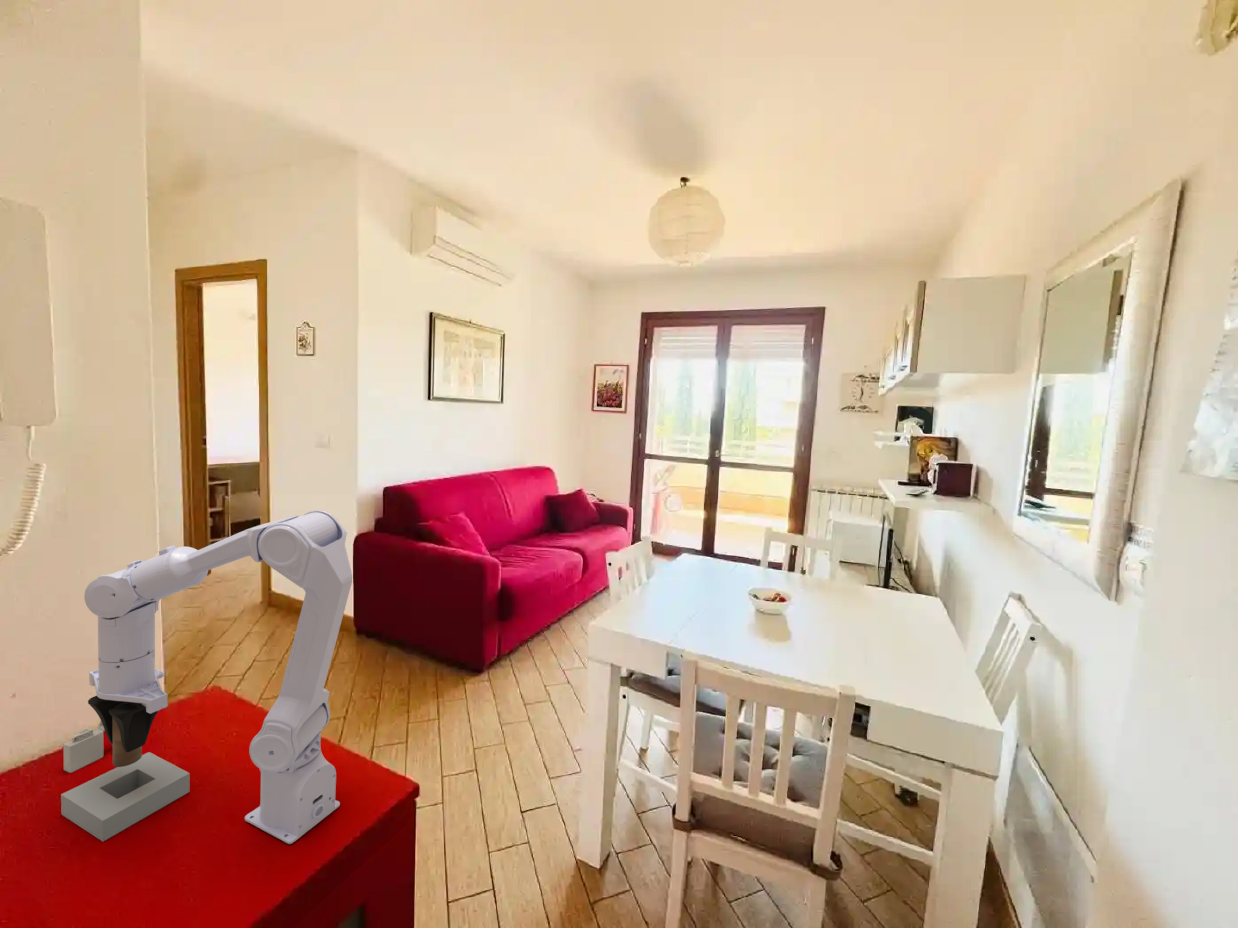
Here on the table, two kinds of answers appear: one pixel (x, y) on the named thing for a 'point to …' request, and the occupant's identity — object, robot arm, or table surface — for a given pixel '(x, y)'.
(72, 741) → the lighter
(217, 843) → the table surface
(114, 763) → the walnut peg
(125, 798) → the socket block
